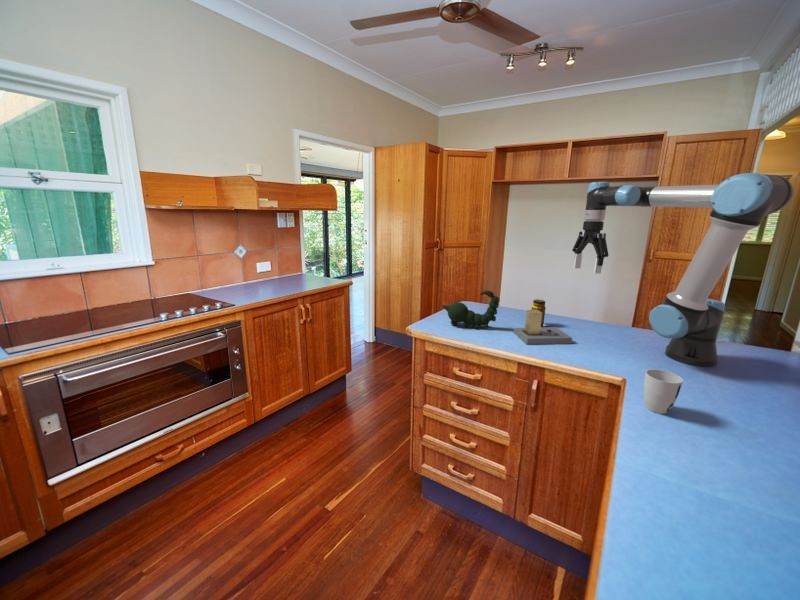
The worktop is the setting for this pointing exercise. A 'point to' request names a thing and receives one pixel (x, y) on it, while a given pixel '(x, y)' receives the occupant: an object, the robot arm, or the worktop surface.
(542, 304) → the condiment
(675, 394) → the cup
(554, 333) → the socket plate
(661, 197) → the robot arm
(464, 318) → the toy figurine
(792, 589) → the worktop surface
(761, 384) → the worktop surface
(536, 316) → the brass peg
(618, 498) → the worktop surface
